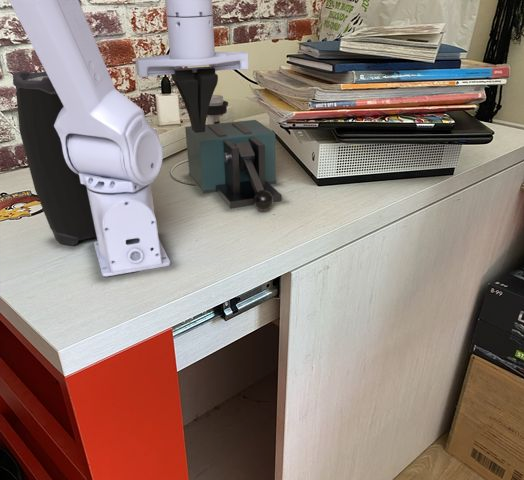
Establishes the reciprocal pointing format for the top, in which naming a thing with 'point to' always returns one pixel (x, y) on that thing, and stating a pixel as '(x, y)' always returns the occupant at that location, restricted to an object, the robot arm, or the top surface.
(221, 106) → the push button
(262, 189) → the toaster lever
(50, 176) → the portable speaker
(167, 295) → the top surface
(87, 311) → the top surface
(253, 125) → the toaster body
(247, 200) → the lever bracket
